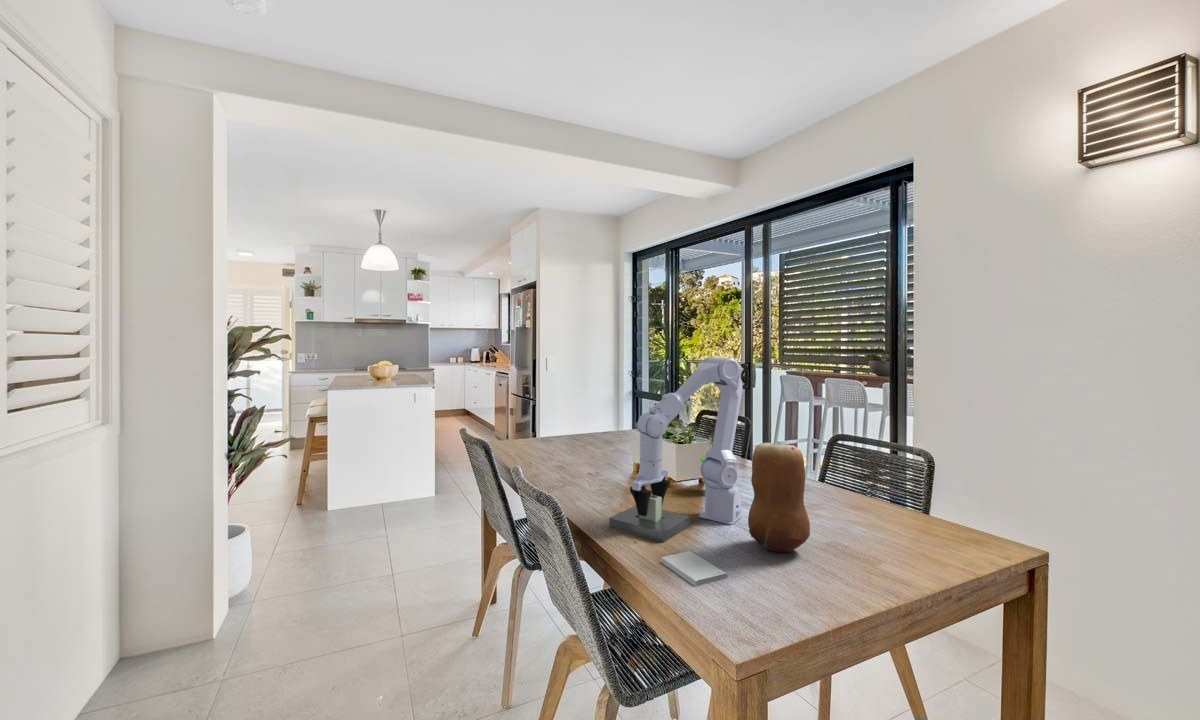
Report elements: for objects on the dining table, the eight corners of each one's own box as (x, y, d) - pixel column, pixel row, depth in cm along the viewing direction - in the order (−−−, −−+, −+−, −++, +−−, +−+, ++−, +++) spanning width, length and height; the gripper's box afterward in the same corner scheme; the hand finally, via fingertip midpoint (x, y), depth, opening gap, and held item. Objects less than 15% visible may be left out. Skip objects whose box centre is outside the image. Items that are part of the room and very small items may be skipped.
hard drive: (727, 573, 105) (690, 550, 116) (695, 581, 101) (660, 556, 113) (727, 580, 105) (690, 557, 116) (695, 589, 102) (660, 563, 113)
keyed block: (644, 523, 136) (645, 492, 136) (661, 527, 133) (661, 495, 133) (638, 526, 134) (639, 494, 133) (655, 530, 131) (655, 498, 130)
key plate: (689, 525, 134) (690, 516, 134) (663, 542, 123) (663, 532, 123) (638, 512, 144) (638, 504, 144) (609, 527, 132) (609, 517, 132)
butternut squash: (781, 535, 128) (783, 436, 127) (822, 556, 116) (825, 447, 115) (735, 542, 123) (737, 439, 122) (772, 566, 111) (775, 451, 110)
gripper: (651, 452, 141) (651, 501, 141) (622, 462, 129) (621, 515, 130) (674, 456, 136) (673, 506, 137) (646, 467, 125) (645, 521, 125)
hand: (650, 511), depth 133 cm, fingers open, 7 cm apart
